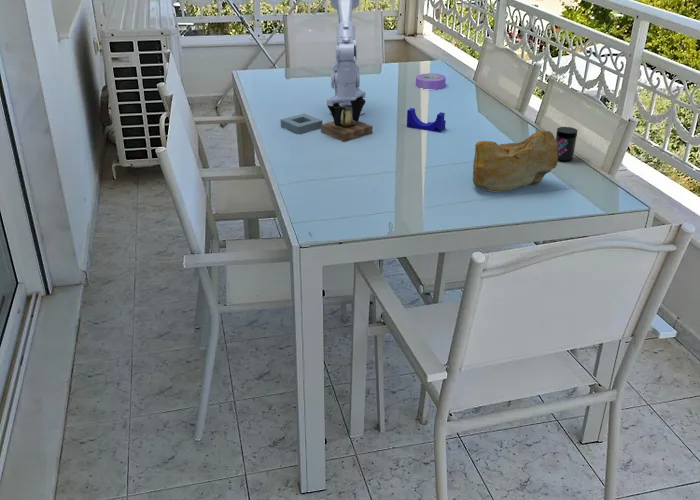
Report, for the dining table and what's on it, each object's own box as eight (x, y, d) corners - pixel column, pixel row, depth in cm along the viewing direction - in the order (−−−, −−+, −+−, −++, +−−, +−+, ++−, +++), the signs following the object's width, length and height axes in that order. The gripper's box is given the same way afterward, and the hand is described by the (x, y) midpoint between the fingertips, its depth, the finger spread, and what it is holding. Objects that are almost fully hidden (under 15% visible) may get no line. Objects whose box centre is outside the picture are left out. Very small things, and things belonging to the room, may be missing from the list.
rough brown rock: (535, 170, 204) (538, 119, 198) (561, 188, 189) (565, 134, 183) (458, 178, 201) (459, 127, 195) (478, 197, 186) (479, 142, 180)
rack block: (304, 120, 242) (304, 113, 240) (322, 127, 235) (322, 120, 234) (280, 126, 236) (280, 119, 235) (298, 134, 229) (298, 126, 228)
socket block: (348, 124, 238) (348, 117, 237) (372, 133, 230) (372, 126, 229) (321, 132, 231) (320, 124, 230) (344, 141, 223) (344, 134, 222)
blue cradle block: (445, 129, 234) (446, 111, 231) (440, 133, 231) (441, 115, 228) (411, 123, 239) (412, 106, 236) (406, 127, 235) (407, 110, 232)
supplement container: (551, 155, 212) (555, 126, 208) (571, 155, 212) (575, 127, 207) (554, 162, 207) (558, 132, 203) (574, 163, 207) (579, 133, 202)
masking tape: (412, 89, 276) (413, 79, 274) (419, 81, 286) (419, 72, 284) (442, 91, 273) (442, 81, 271) (447, 83, 283) (448, 74, 281)
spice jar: (347, 130, 233) (347, 103, 228) (353, 132, 230) (353, 106, 226) (339, 132, 231) (339, 105, 226) (346, 135, 229) (345, 108, 224)
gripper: (336, 88, 216) (337, 130, 222) (371, 80, 224) (371, 121, 230) (322, 83, 220) (323, 125, 227) (357, 75, 229) (357, 116, 235)
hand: (346, 123), depth 229 cm, fingers open, 7 cm apart
